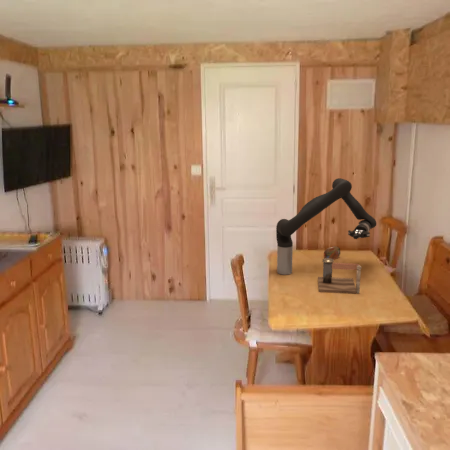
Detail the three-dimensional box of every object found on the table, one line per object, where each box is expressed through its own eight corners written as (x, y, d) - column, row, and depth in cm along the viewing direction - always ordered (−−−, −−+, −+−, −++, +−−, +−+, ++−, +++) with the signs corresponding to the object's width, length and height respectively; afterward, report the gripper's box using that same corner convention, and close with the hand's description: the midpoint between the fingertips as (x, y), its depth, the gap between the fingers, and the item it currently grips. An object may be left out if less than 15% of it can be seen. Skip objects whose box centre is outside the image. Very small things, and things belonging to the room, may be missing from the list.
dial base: (317, 279, 273) (318, 253, 269) (356, 280, 269) (357, 255, 266) (318, 291, 254) (319, 264, 250) (360, 293, 250) (361, 266, 246)
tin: (326, 262, 303) (326, 250, 301) (322, 261, 305) (323, 249, 303) (340, 257, 312) (341, 245, 310) (336, 256, 314) (337, 244, 312)
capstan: (321, 283, 262) (322, 261, 259) (321, 279, 268) (322, 257, 264) (358, 285, 258) (359, 263, 255) (357, 281, 264) (358, 259, 260)
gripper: (351, 223, 278) (344, 229, 263) (373, 225, 271) (367, 232, 257) (350, 235, 279) (343, 242, 264) (373, 237, 273) (367, 245, 258)
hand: (355, 237), depth 261 cm, fingers closed
